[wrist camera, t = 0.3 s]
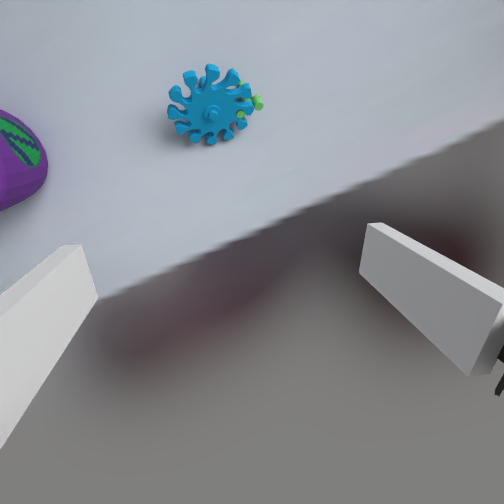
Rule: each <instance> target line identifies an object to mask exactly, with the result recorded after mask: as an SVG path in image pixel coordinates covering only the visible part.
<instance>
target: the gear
mask: <svg viewBox="0 0 504 504" xmlns="http://www.w3.org/2000/svg"><path fill="white" fill-rule="evenodd" d="M205 71H206V77H205V76H203V77H201V78H200V84H201V87H200V88H196V87H195V86H196V84H197V82H198V81H197V76H196V73H195V71H187V72H185V73H183V78H184V82H185V84H186V85H187V86H188V87H189V89H190V90H191V96H190V97H188V98H184V97H183V96H182V93H181V89H180V87H179V86H177V85H175V86H173V87H172V88H171V89H170V91H169V97H170V99H171V100H172V101H174V102H177V103H180V104H182V105H183V106H184V107H185V108H186V110H184V111H180V110H179V109H178V108H177V107H176V106H175V105H172V104H170V105H169V106H168V109H167V114H168V118H169V119H171V120H175V119H185V120H188V121H189V122H187V123H185V122H182V121H176V122H175V128H176V131H177V133H178V134H179V135H181V134H184V133H185V132H186V131H188V130H192V129H199V130H196V131H190V132H189V133H188V136H189V139H190V140H191V141H192V142H194V143H198V142H199V140H200V138H201V137H202V136H203V135H204V134H206V133H208V132H211V133H209V134H207V135H206V141H207V143H208V144H216V142H217V140H216V136H217V134H218V132H219V131H220V130H221V129H224V131H223V136H224V139H225V140H229V139H232V138H234V135H233V132H232V129H230V123H231V122H232V121H236V124H237V127H238V129H239V130H242V129H244V128H245V127H246V126H247V121H246V119H245V118H244V116H245V114H246V115H251V114H252V112H253V110H254V108H255V110H261V109H262V108H263V103H262V101H261V98H260V96H259V95H254V96H253V97H252V94H251V89H250V86H249V83H244V82H243V81H240V79H239V76H238V74H237V72H236V71H235V70H234V69H233V68H232V69H230V70H229V71H228V72H227V75H226V76H225V78H224V79H223V80H222V81H221V82H219V83H218V84H216V85H212V84H211V83H212V82H214V81H216V80H217V79H218V78H219V76H220V72H219V69H218V67H217V66H215V65H212V64H207V65H206V68H205ZM236 85H238V86H239V87H238V88H236V89H226V88H227V87H228V86H236Z"/></svg>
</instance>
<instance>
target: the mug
mask: <svg viewBox="0 0 504 504" xmlns="http://www.w3.org/2000/svg"><path fill="white" fill-rule="evenodd" d="M47 167H48V161H47V157H46V153H45V150H44V148H43V146H42V144H41V143H40V141H39V139H38V138H37V137H36V136H35V134H34V133H33V132H32V130H31V129H30V128H28V127H27V126H26V125H25V124H24V123H23V122H21V121H20V120H19V119H18V118H16V117H14V116H12V115H10V114H9V113H7V112H5V111H3V110H0V211H2V210H4V209H6V208H9V207H11V206H13V205H15V204H17V203H19V202H20V201H22V200H24V199H26V198H28V197H29V196H31V195H32V194H33V193H35V192H36V191H37V190H38V189H39V188H40V186H41V185H42V184H43V183H44V180H45V178H46V175H47Z"/></svg>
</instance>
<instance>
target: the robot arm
mask: <svg viewBox="0 0 504 504" xmlns="http://www.w3.org/2000/svg"><path fill="white" fill-rule="evenodd" d="M359 273H360V274H361V275H362V276H363V277H364V278H365V279H366V280H367V281H368V282H369V283H370V284H371V285H372V286H374V287H375V288H376V289H377V290H378V291H379V292H380V293H381V294H382V295H383V296H384V297H385V298H386V299H387V300H388V301H389V302H390V303H391V304H392V305H393V306H395V307H396V308H397V309H398V310H399V311H400V312H401V313H402V314H403V315H404V316H405V317H406V318H407V319H408V320H409V321H410V322H411V323H412V324H413V325H414V326H415V327H417V328H418V329H419V330H420V331H421V332H422V333H423V334H424V335H425V336H426V337H427V338H428V339H429V340H430V341H431V342H432V343H433V344H434V345H436V347H438V348H439V349H440V350H441V351H442V352H443V353H444V354H445V355H446V356H447V357H448V358H449V359H450V360H452V361H453V363H454V364H455V365H456V366H458V367H459V368H460V369H461V370H462V371H463V372H464V373H465V374H466V375H467V376H468V377H471V376H477V375H483V374H490V373H491V371H492V369H493V367H494V365H495V363H496V361H497V359H499V360H500V361H502V362H503V363H504V288H502V287H500V286H498V285H496V284H495V283H493V282H491V281H489V280H487V279H485V278H484V277H482V276H480V275H478V274H476V273H474V272H472V271H471V270H469V269H466V268H465V267H463V266H461V265H459V264H458V263H456V262H454V261H452V260H450V259H448V258H446V257H445V256H443V255H441V254H439V253H437V252H435V251H433V250H432V249H430V248H428V247H426V246H424V245H422V244H421V243H419V242H417V241H415V240H413V239H411V238H409V237H407V236H405V235H404V234H402V233H400V232H398V231H396V230H395V229H393V228H391V227H389V226H387V225H385V224H384V223H371V224H367V230H366V235H365V241H364V247H363V252H362V258H361V263H360V269H359ZM97 299H98V295H97V292H96V289H95V286H94V283H93V280H92V277H91V274H90V270H89V267H88V264H87V261H86V258H85V255H84V252H83V248H82V245H81V244H75V245H62V246H60V247H59V248H58V249H57V250H55V251H54V252H53V253H52V254H50V255H49V256H48V257H47V258H45V259H44V260H43V261H42V262H40V263H39V264H38V265H37V266H35V267H34V268H33V269H32V270H30V271H29V272H28V273H27V274H25V275H24V276H23V277H22V278H20V279H19V280H18V281H17V282H15V283H14V284H13V285H12V286H11V287H9V288H8V289H7V290H6V291H4V292H3V293H2V294H1V295H0V449H1V448H2V446H3V445H4V443H5V441H6V440H7V438H8V437H9V435H10V434H11V432H12V431H13V429H14V427H15V426H16V424H17V423H18V421H19V420H20V418H21V417H22V415H23V414H24V412H25V410H26V409H27V407H28V406H29V404H30V403H31V401H32V400H33V398H34V396H35V395H36V393H37V392H38V390H39V389H40V387H41V386H42V384H43V383H44V381H45V379H46V378H47V376H48V375H49V373H50V372H51V370H52V369H53V367H54V365H55V364H56V362H57V361H58V359H59V358H60V356H61V355H62V353H63V352H64V350H65V348H66V347H67V345H68V344H69V342H70V340H71V339H72V338H73V336H74V334H75V333H76V331H77V330H78V328H79V327H80V325H81V324H82V322H83V320H84V319H85V317H86V316H87V314H88V313H89V311H90V310H91V308H92V307H93V305H94V303H95V302H96V300H97ZM502 390H504V374H503V376H502V378H501V380H500V382H499V383H498V385H497V387H496V389H495V395H498V396H500V394H501V392H502Z"/></svg>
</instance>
